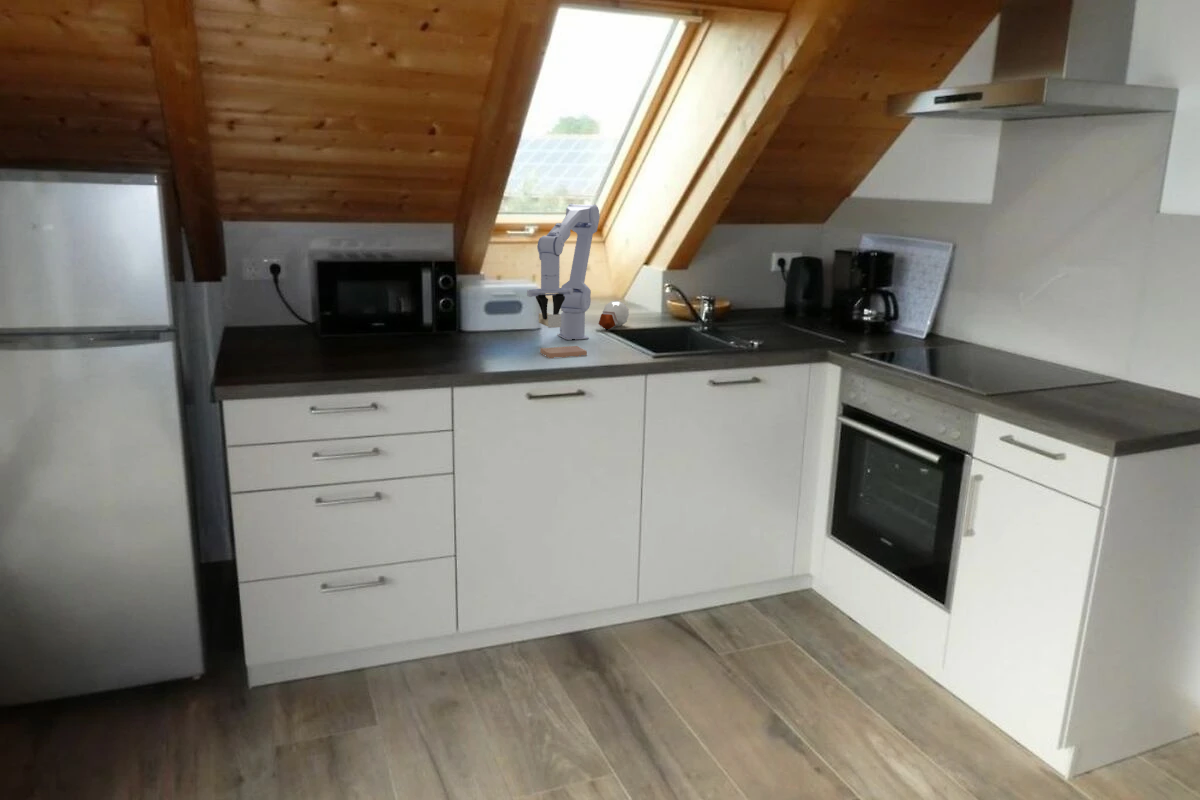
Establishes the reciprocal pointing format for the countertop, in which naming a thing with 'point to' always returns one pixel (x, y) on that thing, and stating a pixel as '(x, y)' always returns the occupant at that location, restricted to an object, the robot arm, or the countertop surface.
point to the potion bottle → (614, 315)
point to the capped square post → (551, 320)
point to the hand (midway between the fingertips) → (550, 318)
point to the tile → (563, 351)
